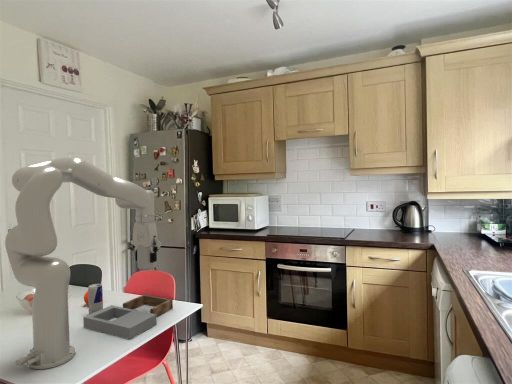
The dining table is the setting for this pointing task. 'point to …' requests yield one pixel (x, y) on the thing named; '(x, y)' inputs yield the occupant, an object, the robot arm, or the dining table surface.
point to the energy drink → (95, 298)
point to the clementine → (86, 298)
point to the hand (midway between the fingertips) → (146, 260)
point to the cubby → (151, 304)
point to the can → (144, 258)
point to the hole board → (120, 321)
